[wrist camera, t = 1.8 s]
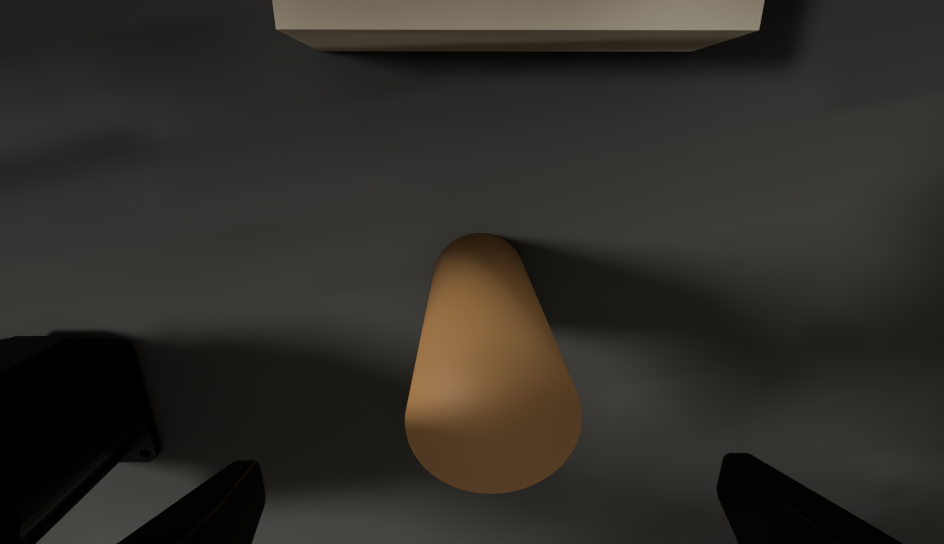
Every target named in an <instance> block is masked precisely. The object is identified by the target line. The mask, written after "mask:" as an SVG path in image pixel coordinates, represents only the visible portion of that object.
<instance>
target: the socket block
mask: <svg viewBox="0 0 944 544" xmlns="http://www.w3.org/2000/svg"><path fill="white" fill-rule="evenodd" d="M272 1H273V9H274V17H275V25H276V30H278V31H280V32H282V33H284V34H286V35H288V36H290V37H292V38H294V39H296V40H298V41H300V42H302V43H304V44H306V45H308V46H310V47H312V48H314V49H316V50H318V51H569V52H692V51H695V50H699V49H702V48H705V47H708V46H711V45H714V44H717V43H721V42H724V41H727V40H730V39H733V38H736V37H740V36H743V35H746V34H749V33H752V32H755V31H758V30H759V28H760V23H761V17H762V12H763V7H764V1H765V0H272Z"/></svg>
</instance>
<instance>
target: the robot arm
mask: <svg viewBox="0 0 944 544" xmlns="http://www.w3.org/2000/svg"><path fill="white" fill-rule="evenodd" d="M116 348H117V349H119V350H120V351H121V353H120V352H118V351H117V349H116ZM160 452H161V446H160V443H159V439H158V435H157V432H156V428H155V425H154V421H153V418H152V414H151V410H150V407H149V403H148V400H147V396H146V392H145V389H144V385H143V382H142V378H141V374H140V371H139V367H138V364H137V360H136V357H135V353H134V349H133V347H132V345H131V344H130V343H129V342H128V341H126V340H123V339H76V338H73V337H70V336H15V337H11V338H9V339H7V340H0V544H36V543H37V542H38V541H39V540H40V539H41V538H42V537H43V536H44V535H45V534H46V533H47V532H48V531H49V530H50V529H51V528H52V527H53V526H54V525H55V524H56V523H57V522H58V521H59V520H60V519H61V518H63V517H64V516H65V515H66V514H67V513H68V512H69V511H70V510H71V509H72V508H73V507H74V506H75V505H76V504H77V503H78V502H79V501H80V500H81V499H82V498H83V497H84V496H85V495H86V494H87V493H88V492H89V491H90V490H91V489H92V488H93V487H94V486H95V485H96V484H97V483H98V482H99V481H100V480H101V479H102V478H103V477H104V476H105V475H106V474H107V473H108V472H109V471H110V470H112V469H113V468H114V467H115V466H116V465H117V464H118V463H119V462H149V461H152V460H154V459H155V458H156V457H157V456H158V455H159V453H160ZM717 494H718V498H719V501H720V503H721V505H722V508H723V510H724V512H725V514H726V517H727V519H728V521H729V523H730V526H731V528H732V530H733V532H734V535H735V537H736V539H737V541H738V544H903V543H901V542H899V541H898V540H896V539H894V538H892V537H891V536H889V535H887V534H886V533H884V532H882V531H880V530H879V529H877V528H875V527H874V526H872V525H870V524H869V523H867V522H865V521H863V520H862V519H860V518H858V517H857V516H855V515H853V514H851V513H850V512H848V511H846V510H845V509H843V508H841V507H840V506H838V505H836V504H834V503H833V502H831V501H829V500H828V499H826V498H824V497H822V496H821V495H819V494H817V493H816V492H814V491H812V490H811V489H809V488H807V487H805V486H804V485H802V484H800V483H799V482H797V481H795V480H793V479H792V478H790V477H788V476H787V475H785V474H783V473H782V472H780V471H778V470H776V469H775V468H773V467H771V466H770V465H768V464H766V463H764V462H763V461H761V460H759V459H758V458H756V457H754V456H753V455H751V454H748V453H728V454H726V455H725V456H724V457H723V461H722V465H721V470H720V474H719V479H718V483H717ZM264 505H265V489H264V483H263V478H262V473H261V468H260V465H259V463H258V462H257V461H255V460H238V461H234V462H233V463H231V464H229V465H228V466H227V467H225V468H224V469H222V470H221V471H219V472H218V473H217V474H215V475H214V476H212V477H211V478H210V479H208V480H207V481H205V482H204V483H202V484H201V485H200V486H198V487H197V488H195V489H194V490H193V491H191V492H190V493H188V494H187V495H185V496H184V497H183V498H181V499H180V500H178V501H177V502H176V503H174V504H173V505H171V506H170V507H168V508H167V509H166V510H164V511H163V512H161V513H160V514H158V515H157V516H156V517H154V518H153V519H151V520H150V521H149V522H147V523H146V524H144V525H143V526H141V527H140V528H139V529H137V530H136V531H134V532H133V533H132V534H130V535H129V536H127V537H126V538H124V539H123V540H122V541H120V542H119V543H117V544H252V541H253V538H254V535H255V532H256V529H257V526H258V523H259V520H260V517H261V514H262V512H263V508H264Z"/></svg>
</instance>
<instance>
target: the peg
mask: <svg viewBox="0 0 944 544" xmlns="http://www.w3.org/2000/svg"><path fill="white" fill-rule="evenodd" d="M581 427H582V408H581V403H580V399H579V396H578V393H577V391H576V389H575V386H574V384H573V381H572V379H571V377H570V374H569V372H568V370H567V367H566V365H565V362H564V360H563V358H562V355H561V353H560V350H559V348H558V346H557V343H556V341H555V339H554V336H553V334H552V331H551V329H550V327H549V324H548V322H547V320H546V317H545V315H544V312H543V310H542V308H541V305H540V303H539V301H538V298H537V296H536V293H535V291H534V289H533V286H532V284H531V282H530V279H529V277H528V274H527V272H526V270H525V267H524V265H523V262H522V260H521V258H520V256H519V254H518V253H517V251H516V250H515V249H514V248H513V247H512V246H511V245H510V244H509V243H508V242H506V241H505V240H503V239H501V238H499V237H497V236H494V235H491V234H485V233H475V234H469V235H465V236H462V237H460V238H458V239H456V240H454V241H453V242H451V243H450V244H449V245H448V246H447V247H446V248H445V249H444V250H443V251H442V253H441V254H440V256H439V258H438V260H437V263H436V266H435V270H434V275H433V280H432V285H431V290H430V294H429V299H428V304H427V309H426V314H425V319H424V324H423V329H422V334H421V339H420V344H419V348H418V353H417V358H416V363H415V368H414V373H413V378H412V383H411V388H410V393H409V398H408V403H407V408H406V413H405V430H406V436H407V439H408V442H409V445H410V447H411V449H412V452H413V453H414V455H415V457H416V458H417V460H418V461H419V462H420V463H421V464H422V466H423V467H424V468H425V469H426V470H427V471H429V472H430V473H431V474H432V475H433V476H435V477H436V478H438V479H439V480H441V481H442V482H444V483H446V484H448V485H450V486H453V487H455V488H458V489H461V490H465V491H469V492H474V493H481V494H499V493H508V492H514V491H517V490H521V489H525V488H527V487H530V486H532V485H535V484H537V483H538V482H540V481H542V480H544V479H546V478H547V477H548V476H550V475H551V474H553V473H554V472H555V471H556V470H557V469H559V468H560V467H561V466H562V465H563V463H564V462H565V461H566V460H567V459H568V457H569V456H570V454H571V453H572V452H573V450H574V448H575V446H576V444H577V442H578V439H579V436H580V432H581Z"/></svg>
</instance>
